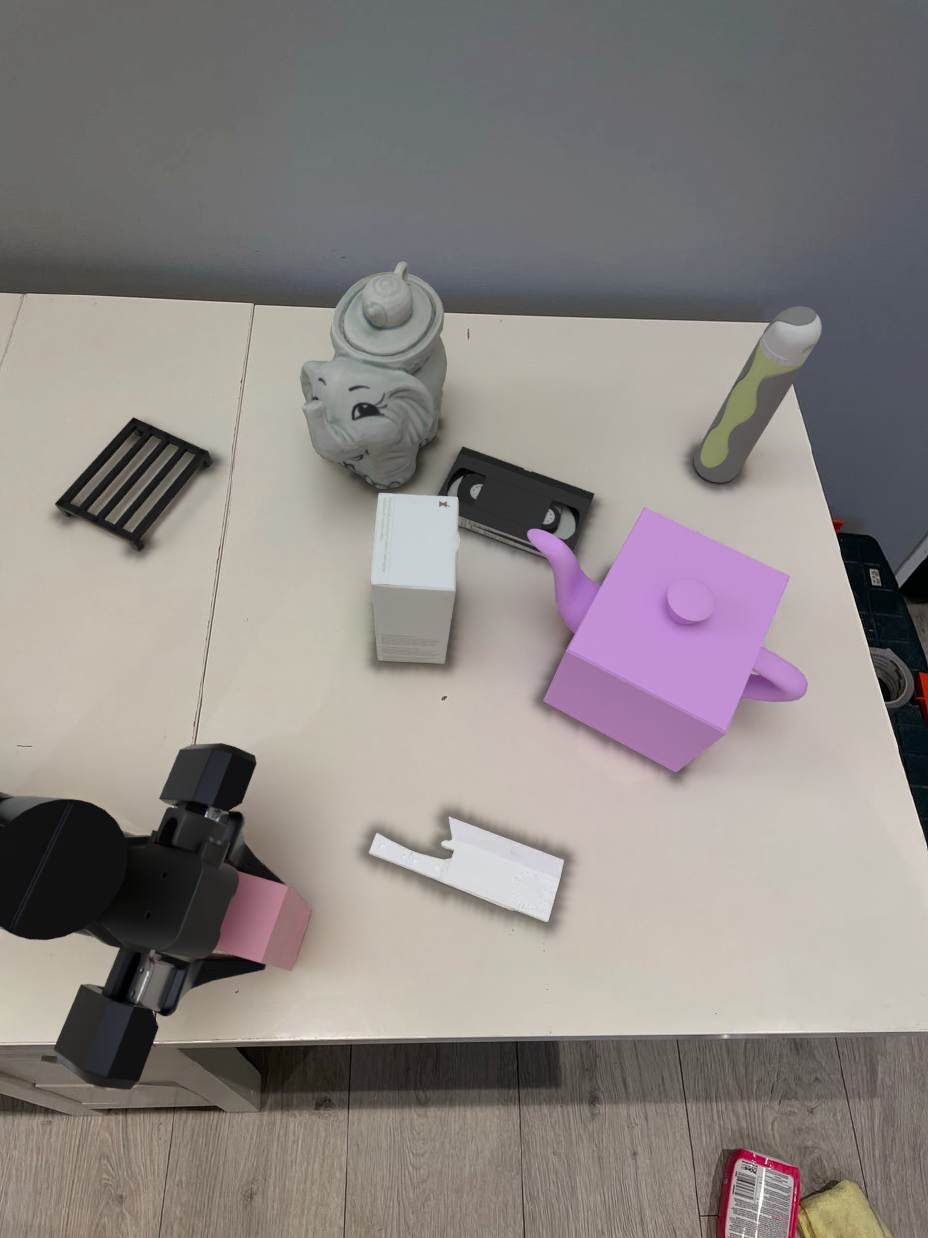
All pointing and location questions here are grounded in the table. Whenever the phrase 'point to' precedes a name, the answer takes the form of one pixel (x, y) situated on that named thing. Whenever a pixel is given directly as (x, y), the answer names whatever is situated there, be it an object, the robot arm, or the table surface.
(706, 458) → the spray bottle
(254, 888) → the pink box
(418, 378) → the elephant cookie jar
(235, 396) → the table surface
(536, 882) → the butcher knife
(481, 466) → the vhs tape
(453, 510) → the cosmetic box
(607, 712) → the teapot
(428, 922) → the table surface
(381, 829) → the table surface
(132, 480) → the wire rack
